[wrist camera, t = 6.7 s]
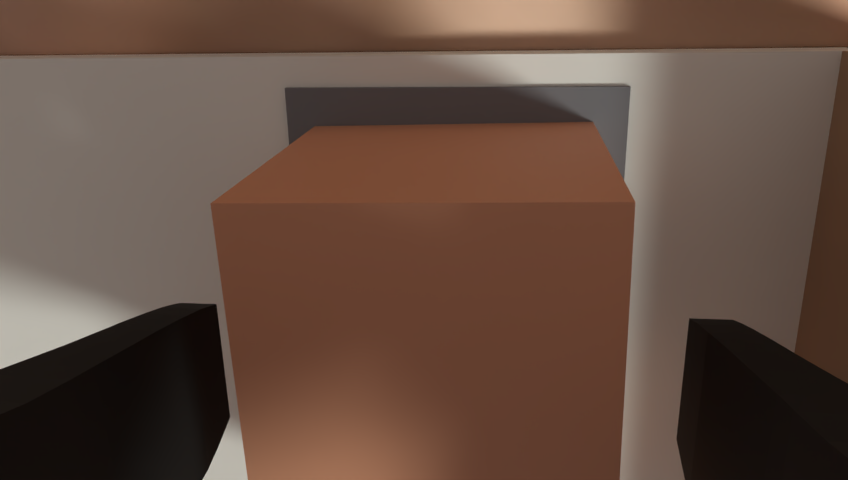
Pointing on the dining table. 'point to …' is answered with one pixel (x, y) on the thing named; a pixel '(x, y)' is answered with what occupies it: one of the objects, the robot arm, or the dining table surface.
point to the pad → (463, 108)
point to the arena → (273, 72)
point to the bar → (430, 303)
